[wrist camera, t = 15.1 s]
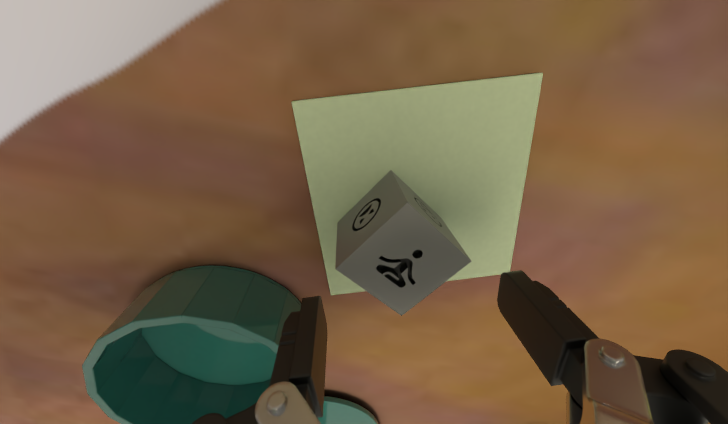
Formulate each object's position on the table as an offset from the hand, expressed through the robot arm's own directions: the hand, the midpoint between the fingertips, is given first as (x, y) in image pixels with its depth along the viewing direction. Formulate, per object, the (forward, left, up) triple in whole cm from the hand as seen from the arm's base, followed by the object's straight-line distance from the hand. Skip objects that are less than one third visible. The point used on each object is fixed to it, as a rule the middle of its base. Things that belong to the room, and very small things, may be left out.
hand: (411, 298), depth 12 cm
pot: (-14, -9, -8) cm, 18 cm away
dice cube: (0, 0, -7) cm, 7 cm away
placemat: (+2, +1, -8) cm, 8 cm away
